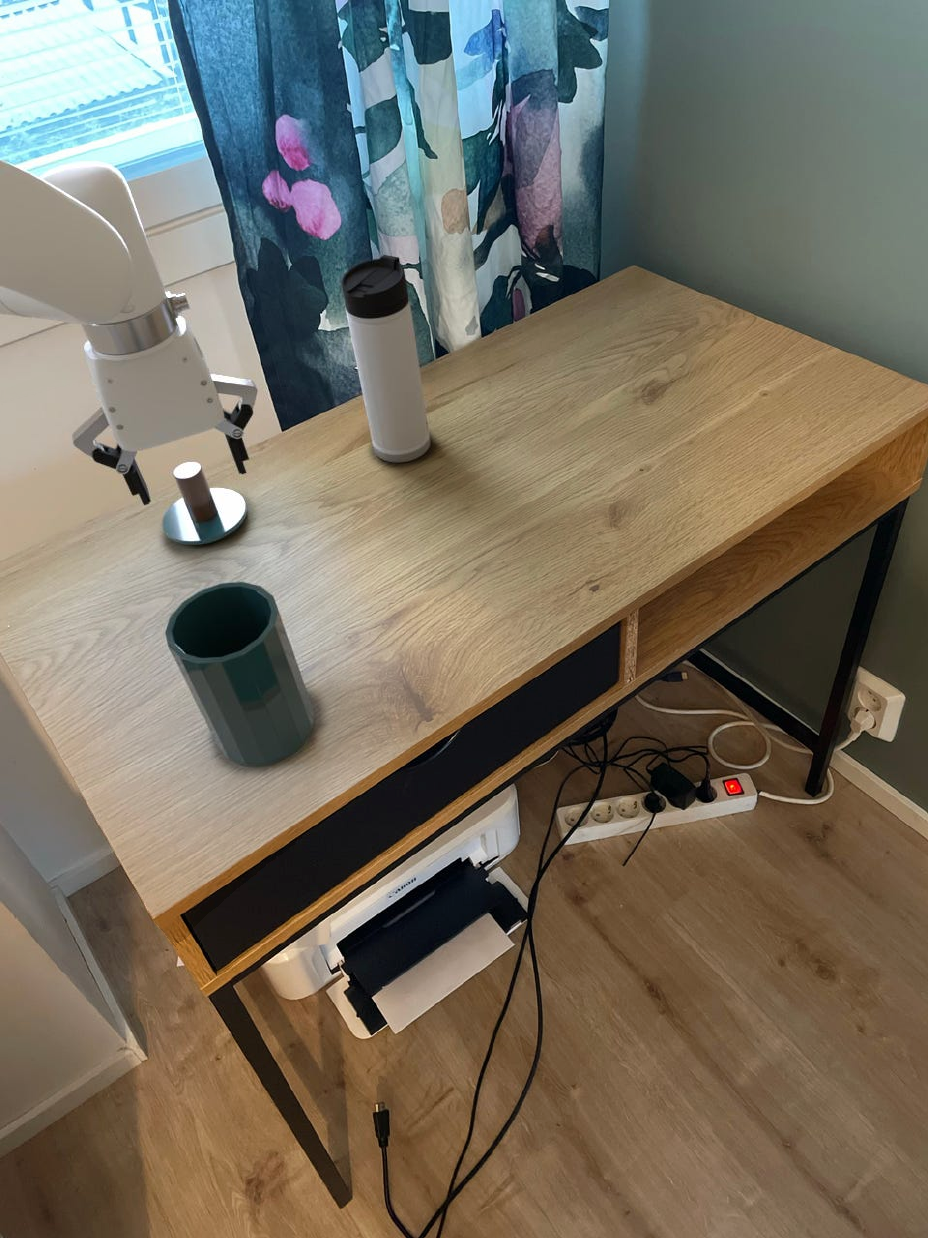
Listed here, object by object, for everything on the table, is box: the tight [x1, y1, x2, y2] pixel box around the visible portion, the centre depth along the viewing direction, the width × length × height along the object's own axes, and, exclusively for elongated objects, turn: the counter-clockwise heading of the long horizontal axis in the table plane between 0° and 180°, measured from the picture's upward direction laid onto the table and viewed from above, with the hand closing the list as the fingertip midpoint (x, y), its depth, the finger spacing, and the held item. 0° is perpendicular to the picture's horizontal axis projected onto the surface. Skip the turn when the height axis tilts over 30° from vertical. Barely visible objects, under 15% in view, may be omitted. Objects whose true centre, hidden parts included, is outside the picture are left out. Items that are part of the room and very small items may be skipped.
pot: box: [164, 581, 315, 768], centre depth 69 cm, size 8×8×12 cm
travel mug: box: [340, 254, 431, 463], centre depth 92 cm, size 6×7×20 cm
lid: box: [162, 461, 248, 546], centre depth 90 cm, size 9×9×7 cm
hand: (193, 481), depth 89 cm, fingers open, 9 cm apart
